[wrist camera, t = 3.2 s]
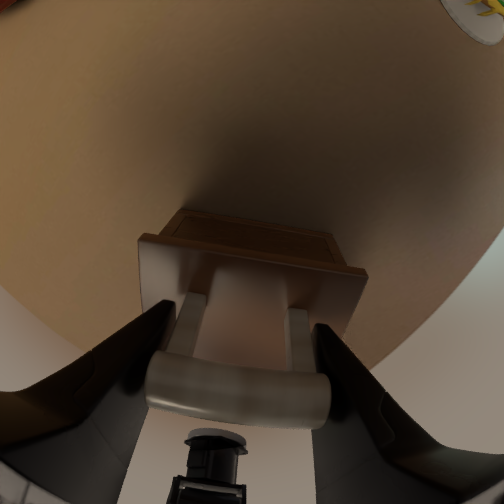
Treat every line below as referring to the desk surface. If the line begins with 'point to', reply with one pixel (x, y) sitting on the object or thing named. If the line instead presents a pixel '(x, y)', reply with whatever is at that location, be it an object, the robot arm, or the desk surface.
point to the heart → (5, 4)
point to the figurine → (478, 18)
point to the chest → (253, 236)
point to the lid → (243, 331)
